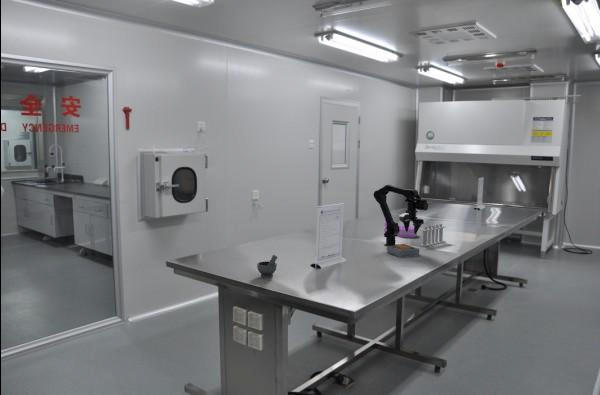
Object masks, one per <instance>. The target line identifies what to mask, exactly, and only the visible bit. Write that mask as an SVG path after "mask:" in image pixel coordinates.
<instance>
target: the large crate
mask: <svg viewBox="0 0 600 395" xmlns="http://www.w3.org/2000/svg"><path fill="white" fill-rule="evenodd" d="M410 246H411V245H410ZM386 247H387V248H386V249H387V250H386V253H388V254H390V253H391V254H390V255H392V256H395V255H396V257H398V258H405V257H407V256H408V257H416V256H415V255H418V256H420V249H419V248H417V247H416V246H411V249H410V250H398V249H396V244H395V246H386Z"/></svg>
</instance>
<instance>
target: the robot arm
mask: <svg viewBox="0 0 600 395" xmlns="http://www.w3.org/2000/svg"><path fill="white" fill-rule="evenodd" d="M390 192H391V193H393V194H394V193H395V194H398V195H401V196H403V197H404V198H405V199H404V202H407V203H406V204H407V206H406V210H405V212H404V213H401V214H400V215H398V218H399V221H400V222H402V224H403V226H404V227H405V230H406V232H407V231H408V228H409V226H410V225H411V222H412V226H414V234H416V233H417V234H418V231H420V230H419V229H420V227H422V225H423V224H424V223H425V220H424V219H423V218H418V216H417V213H418V212H419V211H427V210H428V209H429V203H428V201H427V199H422V198H421V196H420V195H419V191H418V190H417V189H413V188H408V189H407V188H402V187H400V186H396V185H395V186H394V185H391V184H386V185H384V186H383V187H381V188H379V189H378V190H374V192H373V197H374V200H375V201H376V202H377V204H378V205H379V206H380V210H381V212H382V214H383V217H384V221H385V220H386V223H387V227H386V226H385V227H386V229H387V231H386V232H384V233H383V237H384V238H385V244H383V245H384V246H386V247H387V246H395V245H396V237H398V236H397V235H398V233H399V231H400V229H399V228H400V227H399V226H400V225H399V222H396V221H393V220H394V219H393V215H392V214H391V211H390V210H391V209H390V208H389V205H388V202H387V200H388V198H387V195H388V194H389V193H390Z"/></svg>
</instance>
